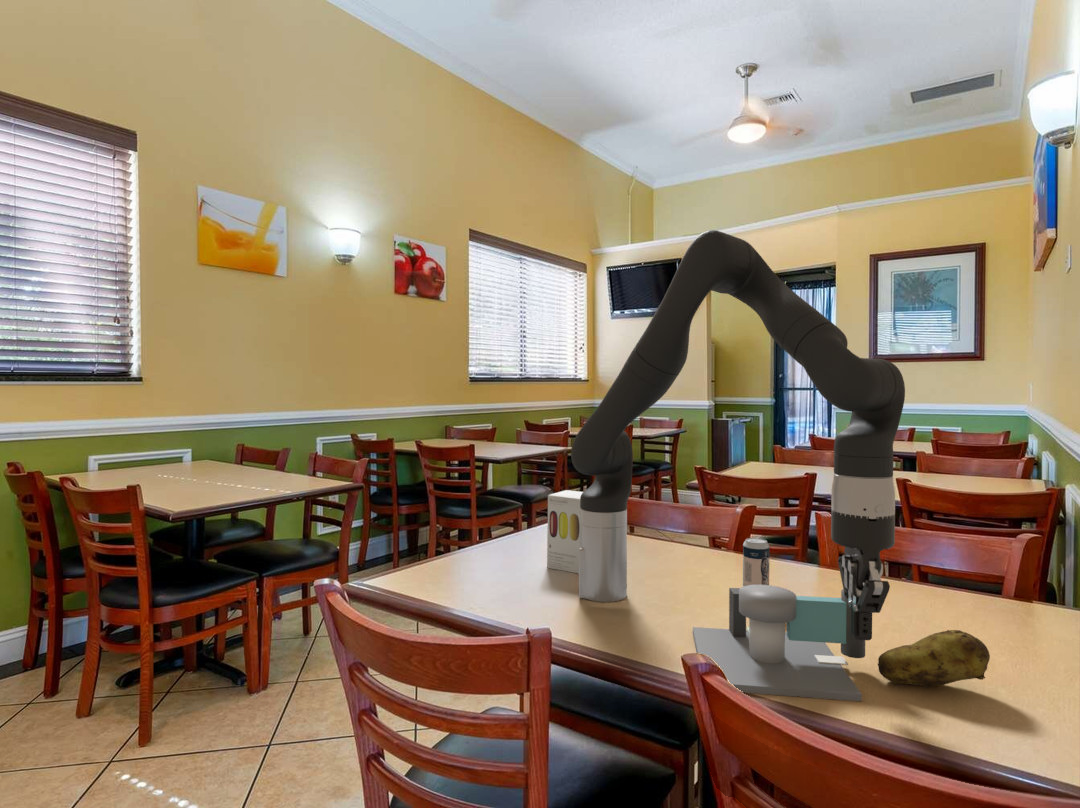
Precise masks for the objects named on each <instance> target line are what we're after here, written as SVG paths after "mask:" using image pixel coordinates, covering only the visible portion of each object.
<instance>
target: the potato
mask: <svg viewBox="0 0 1080 808" xmlns="http://www.w3.org/2000/svg"><path fill="white" fill-rule="evenodd" d="M990 659H991V654H990V652H989V649H988V647H987V646H986V644H985V643H984V642H983V641H982V640H981V639H979V638H978V637H975V636H973V635H972V634H970V633H968V632H965V631H962V630H961V629H960V630H958V629H948V630H947V629H946V630H945V631H943V630H942V631H939V632H936V633H933V634H932V633H931V634H929V635H928V636H925V637H923V638H921V639H918V640H917V641H916V642H914V643H912V644H906V645H900V646H898V647H894V648H891V649H888V650H886V651H885V652H882V653H881V654H880V655H879V656H878V659H877V660H878V661H877V667H878V671H879V674H880V675H881V676H882V677H883V679H886V680H887V681H889V682H891V683H893V684H897V685H907V684H908V685H914V686H922V687H923V686H926V687H934V686H935V687H936V686H944V685H948V684H951V683H955V682H959V681H964V680H965V681H967V680H973V679H978V680H981V681H982V680H985V678H986V676H985V673H986V671H987V670H988V664H989V662H990Z"/></svg>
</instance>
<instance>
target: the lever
mask: <svg viewBox="0 0 1080 808" xmlns="http://www.w3.org/2000/svg"><path fill="white" fill-rule="evenodd" d="M739 588H740V589H739V612H740V613H741V614H742V615H743V616H745V617H746V619H749V618H750V619H753V620H756V621H761V622H768V623H785V624H786V633H787V637H788V638H789V640H793V641H809V642H825V643H826V644H829V643H830V644H840V654H842V655H844V656H845V657H849V658H853V659H864V658H865V657H866V640H857V639H855V638H854V636H853V635H852V634H851V607H849V604H848V598H845V595H844V589H843V588H842V589H841V591H840V595H841V596H840V597H828V596H813V595H812V596H809V595H808V596H806V595H796V593H795V592H793V591H792V590H790V589H787V588H784V587H780V586H776V585H770V584H769V585H747V586H743V585H742V586H741V587H739Z"/></svg>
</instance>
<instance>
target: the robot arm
mask: <svg viewBox="0 0 1080 808" xmlns="http://www.w3.org/2000/svg"><path fill="white" fill-rule="evenodd" d="M711 291H713V292H715V293H719V294H726V295H729V296H732V297H733V298H735V299H737V300H739V301H741V302H742V303H743V304H745V305H746V306H748V307H749V308H750V309H752V310H753V311H754V312H755V313H756V314H757V315H758V317H759V318H760V319H761V321H762V322H763V323H762V324H763V325H764V327H765V329H766V331H767V332H768V334H769V335H770V337H771V338H772V339H773V340H774V342H775V343H776V344H777V345H778V346H780V348H781V349H782V350H783V351H785V353H787V354H788V355H789V356H790V357H791V358H792V359H793V360H795V362H797V363H798V364H799V365H801V366H802V367H803V369H804V371H805V373H806V374H807V376H808V378H809V379H810V381H811V382H812V383H813V385H814V387H815V388H816V389H817V391H818V393H819V394H820V395H821V396H822V397H823V398H824V399H825V400H826V401H827V402H829V403H830V404H831V405H833V406H834V407H836V408H838V409H839V410H842V411H846V412H850V413H851V416H850V419H849V424H848V426H847V428H845V429H844V430H842V431H840V432H838V434H837V435H836V436H835V439H834V443H833V476H832V477H833V480H832V485H831V496H830V497H831V499H830V502H831V508H830V509H831V511H830V512H831V514H830V517H831V518H830V519H831V522H830V538H831V540H832V542H834V543H835V544H836V545H839V546H842V547H844V554H842V556H838V558H837V562H838V568H839V573H840V578H841V583H842V584H841V585H842V590H843V589H844V595H845V598H848V604H849V607H851V634H852V635H853V636H854V638H855V639H857V640H865V641H870V640H872V639H873V614H875V613H876V614H880V613H881V611H882V608H883V606H884V603H885V601H886V598H887V596H888V594H889V592H890V587H891V585H890V582H889V581H888V580H882V579H881V577H882V576H883V573H884V563H883V562H882V561H881V555H880V554H881V552H882V551H883V550H889V549H892V548H893V547H894V546H895V543H896V542H895V541H896V539H895V538H896V537H895V536H896V492H895V491H896V490H895V484H894V483H895V482H894V441H895V438H896V436H897V432H898V428H899V426H900V425H899V424H900V421H901V419H902V413H903V409H904V404H905V397H906V386H905V380H904V377H903V374H902V372H901V371H900V369H899V368H898V367H897V366H896V364H894V363H893V362H892V361H889V360H886V359H883V358H864V357H859V356H858V355H856V354H855V353H854V352H852V351H851V350H850V349H849V348H848V344H849V343H848V338H847V336H846V335H845V333H844V332H843V331H842V330H841V329H840V328H839V327H838V326H837V325H835V324H834V323H833V322H832V321H831V320H829V319H828V318H827V317H826V316H824V315H823V314H822V313H821V312H819V311H818V309H816V308H815V307H813V306H812V305H810V304H809V303H808V302H807V301H806V300H804V299H803V298H802V297H801V296H799V295H798V294H797V293H796V292H794V291H793V290H792V289H791V288H790V287H789V286H788V285H787V284H786V283H785V282H784V281H782V279H781V278H780V277H779V276H778V275H777V274H776V273H775V272H774V271H773V270H772V269H771V267H770V266H769V265H768V263H767V262H766V261H765V260H764V258H763V257H762V256H761V255H760V253H759V252H758V251H757V250H756V249H755V247H753V245H752V244H750V243H749V242H748V241H746V240H744V239H742V238H740V237H737V236H735V235H731V234H729V233H725V232H723V231H718V230H714V229H711V230H705V231H704V232H702V233H701V234H699V235H698V236H697V237H696V238H695V239H693V241H692V242H691V243H690V245H689V246H688V248H687V249H686V251H685V253H684V255H683V257H682V258H681V261H680V262H679V265H678V267H677V269H676V271H675V273H674V275H673V278H672V280H671V282H670V284H669V286H668V287H667V290H666V292H665V294H664V297H663V298H662V301H661V302H660V304H659V305H658V307H657V309H656V310H655V313H654V314H653V316H652V318H651V320H650V321H649V322H648V323H649V324H648V325H647V327H646V328H645V331H643V333H642V335H641V336H640V338H639V340H638V341H637V343H636V344H635V345H634V347H633V349H632V351H631V352H630V354H629V355H628V358H627V359H626V360H625V363H624V364H623V367H622V368H621V369H620V371H619V374H618V375H617V377H616V378H615V380H614V381H613V383H612V384H611V386H610V387H609V389H608V390H607V392H606V394H605V396H604V397H603V399H602V401H601V402H600V403H599V405H598V407H597V408H596V409H595V410H594V412H593V413H592V414H591V415H590V416H589V418H588V419H587V420H586V422H585V423H584V425H582V427H581V428H580V430H579V431H578V432H577V435H576V436H575V438H574V440H573V443H572V445H571V450H570V456H571V457H570V458H571V463H572V465H573V467H574V469H575V470H577V472H579V473H581V474H582V475H584V476H585V475H586V476H595V477H594V481H593V482H592V484H591V485H590V486H589V487H588V488H587V489H586V490H585V491H582V492H583V493H582V495H581V497H580V548H579V574H578V598H579V599H586V600H589V601H594V602H602V603H605V602H606V603H610V602H617V601H621V600H622V601H623V600H624V599H626V597H627V595H628V590H627V589H628V581H627V580H628V579H627V578H628V576H627V575H628V501H629V498H630V496H631V492H632V485H633V484H632V478H633V465H634V464H633V461H634V459H633V458H634V457H633V455H634V453H633V452H634V451H633V445H632V441H631V439H630V436H629V435H628V433H627V432H626V431H625V430H626V429H627V427H628V426H629V425H630V424H631V423H632V422H634V421H635V420H636V419H637V418H638V417H640V416H641V415H642V414H644V413H645V412H646V411H648V409H650V408H651V407H652V406H653V405H655V404H656V403H657V402H658V401H659V400H661V399H662V398H663V396H664V395H665V394H667V392H668V391H669V389H670V388H671V387H672V385H673V384H674V382H675V380H676V379H677V378H678V376H679V374H680V373H681V372H682V370H683V368H684V367H685V364H686V362H687V359H688V354H689V344H690V342H689V341H690V331H691V326H692V322H693V319H694V317H695V315H696V313H697V311H698V309H700V306H701V305H702V303H703V301H704V300H705V298H706V297H707V296H708V294H709V293H710V292H711Z"/></svg>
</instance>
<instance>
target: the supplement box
mask: <svg viewBox="0 0 1080 808" xmlns="http://www.w3.org/2000/svg"><path fill="white" fill-rule="evenodd" d="M583 492H584V491H578V490H577V491H576V490H570V489H565V490H561V491H558V492H554V493H550V494H548V495H547V536H546V537H547V547H546V551H547V552H546V558H547V559H546V568H548V569H554V570H558V571H562V572H569V573H574V574H577V575H579V548H580V497H581V495H582V493H583Z"/></svg>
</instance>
